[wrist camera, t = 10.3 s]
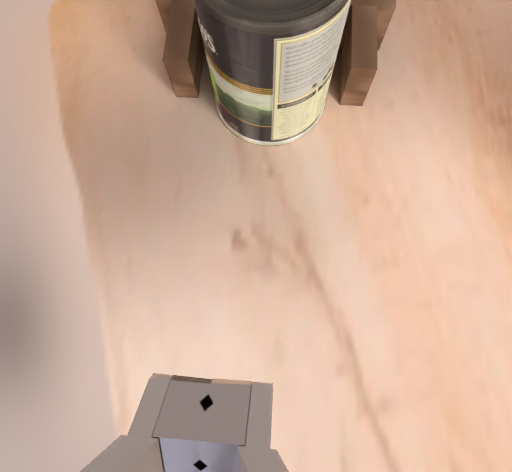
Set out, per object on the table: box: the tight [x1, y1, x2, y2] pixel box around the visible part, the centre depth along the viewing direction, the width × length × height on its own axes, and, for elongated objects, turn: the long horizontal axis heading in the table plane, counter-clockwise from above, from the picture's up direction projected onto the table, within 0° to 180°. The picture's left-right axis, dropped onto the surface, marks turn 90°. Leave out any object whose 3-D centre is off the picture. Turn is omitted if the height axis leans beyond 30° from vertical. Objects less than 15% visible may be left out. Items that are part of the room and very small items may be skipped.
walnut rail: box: [156, 0, 396, 106], centre depth 34 cm, size 20×8×5 cm, turn 86°
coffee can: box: [194, 0, 351, 146], centre depth 29 cm, size 10×10×14 cm
